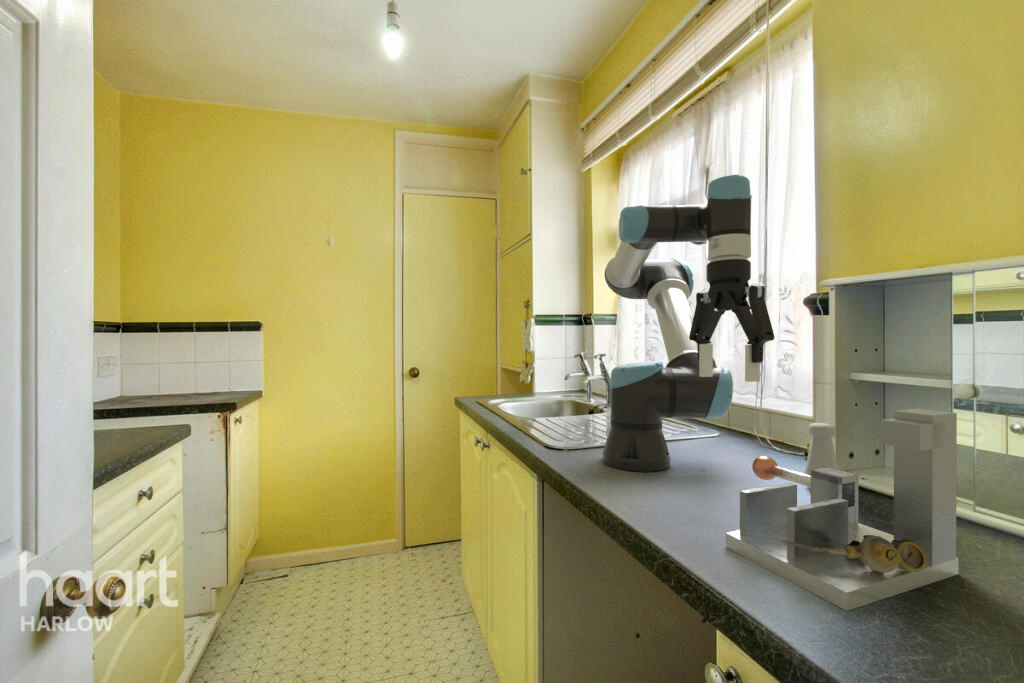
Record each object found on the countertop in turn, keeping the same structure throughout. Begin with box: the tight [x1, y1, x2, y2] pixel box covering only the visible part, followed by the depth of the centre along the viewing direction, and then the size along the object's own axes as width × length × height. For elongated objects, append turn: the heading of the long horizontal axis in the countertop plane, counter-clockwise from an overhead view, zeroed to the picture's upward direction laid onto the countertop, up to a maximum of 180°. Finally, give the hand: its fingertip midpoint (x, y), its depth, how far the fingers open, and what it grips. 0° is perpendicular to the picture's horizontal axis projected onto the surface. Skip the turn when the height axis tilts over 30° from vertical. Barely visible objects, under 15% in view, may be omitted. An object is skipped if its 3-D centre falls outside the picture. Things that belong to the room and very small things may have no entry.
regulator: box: [782, 535, 927, 573], centre depth 54 cm, size 8×4×15 cm
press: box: [725, 408, 959, 612], centre depth 59 cm, size 16×21×20 cm
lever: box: [751, 455, 845, 496], centre depth 73 cm, size 14×4×4 cm, turn 21°
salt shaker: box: [804, 422, 839, 491], centre depth 86 cm, size 6×6×13 cm
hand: (727, 378), depth 85 cm, fingers open, 10 cm apart
